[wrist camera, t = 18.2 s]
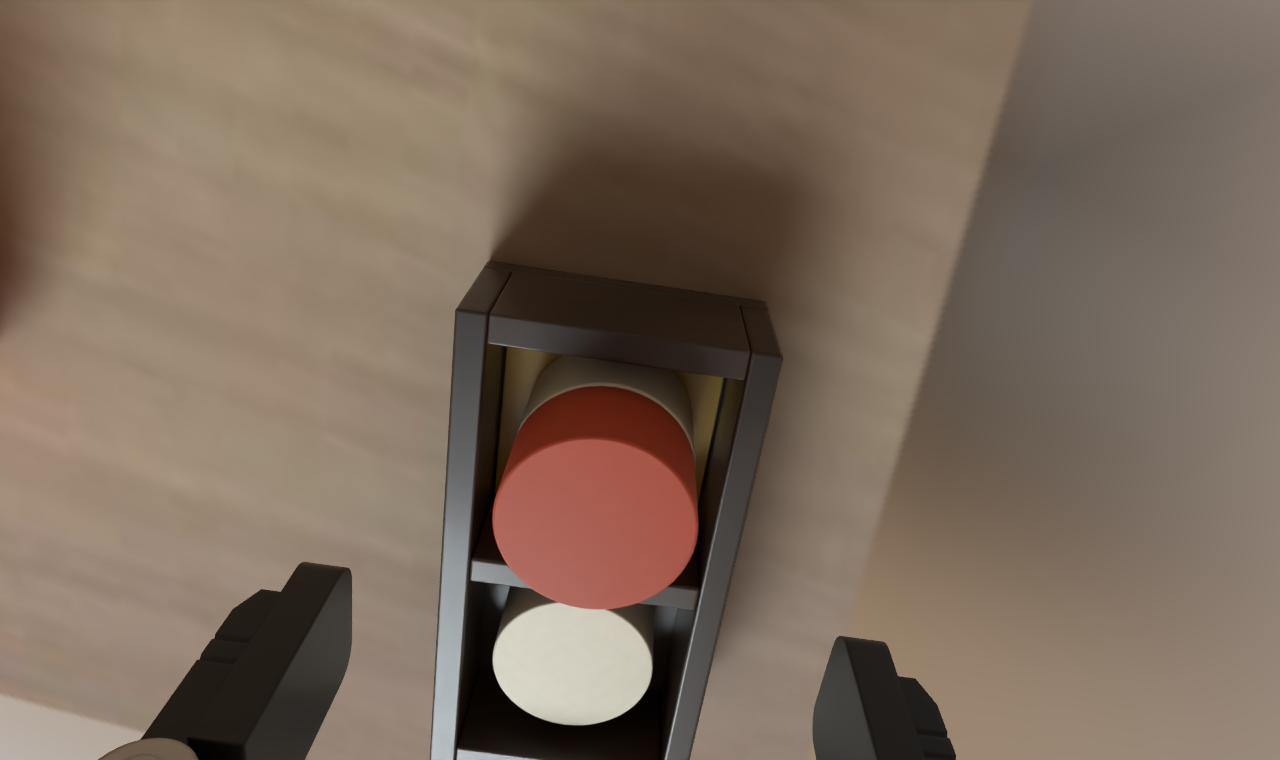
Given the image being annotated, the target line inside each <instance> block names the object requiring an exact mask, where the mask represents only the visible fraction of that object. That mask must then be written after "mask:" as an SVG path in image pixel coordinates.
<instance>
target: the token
mask: <svg viewBox="0 0 1280 760" xmlns="http://www.w3.org/2000/svg"><path fill="white" fill-rule="evenodd" d="M653 645H654V605H648V604H640V603H636V604H633V605H630V606H625V607H621V608H614V609H584V608H578V607H573V606H568V605H565V604H562V603H559V602H556V601H554V600H551V599H549V598H547V597H545V596H543V595H541V594H539V593H538V592H536V591H534V590H533V589H528V588H520V587H513V586H510V588H509V591H508V595H507V599H506V603H505V607H504V610H503V614H502V618H501V622H500V626H499V630H498V633H497V637H496V641H495V645H494V650H493V669H494V673H495V676H496V679H497V681H498V683H499V685H500V687H501V688H502V690H503V691H504V693H505V694H506V695H507V696H508V697H509V698H510V699H511V700H512V701H513V702H514V703H515V704H516V705H517V706H519V707H520V708H521V709H523V710H524V711H526V712H528V713H530V714H532V715H533V716H536V717H538V718H541V719H543V720H546V721H550V722H553V723H558V724H564V725H589V724H596V723H601V722H604V721H607V720H610V719H613V718H615V717H617V716H620V715H621V714H623V713H625V712H626V711H628V710H629V709H630V708H632V707H633V706H634V705H635V704H636V703H637V702H638V701H639V700H640V699H641V698H642V696H643V695H644V693H645V692H646V690H647V688H648V686H649V684H650V681H651V678H652V673H653Z"/></svg>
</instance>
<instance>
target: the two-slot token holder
mask: <svg viewBox="0 0 1280 760" xmlns="http://www.w3.org/2000/svg"><path fill="white" fill-rule="evenodd" d="M563 355H570V356H577V357H584V358H591V359H598V360H605V361H612V362H619V363H626V364H633V365H640V366H647V367H654V368H661V369H668V370H672V371H673V372H674V373H675V374H676V376H677V377H678V378H679V380H680V381H681V383H682V384H683V386H684V388H685V390H686V392H687V394H688V397H689V400H690V403H691V409H692V417H693V432H694V447H695V475H696V491H697V506H698V537H697V542H696V546H695V549H694V552H693V554H692V556H691V558H690V560H689V562H688V564H687V565H686V567H685V568H684V570H683V571H682V573H681V574H680V575H679V576H678V577H677V578H676V579H675V580H674V581H673V582H672V583H671V584H670V585H669V586H668V587H666V588H665V589H664V590H662V591H661V592H659V593H658V594H656V595H655V596H653V597H651V598H649V599H646V600H644V601H642V602H639V603H640V604H648V605H654V645H653V673H652V678H651V681H650V684H649V686H648V688H647V690H646V692H645V693H644V695H643V696H642V698H641V699H640V700H639V701H638V702H637V703H636V704H635V705H634V706H633V707H632V708H630V709H629V710H628V711H626V712H625V713H623V714H621V715H620V716H617V717H615V718H613V719H610V720H607V721H604V722H601V723H596V724H589V725H564V724H558V723H553V722H550V721H546V720H543V719H541V718H538V717H536V716H533V715H532V714H530V713H528V712H526V711H524V710H523V709H521V708H520V707H519V706H517V705H516V704H515V703H514V702H513V701H512V700H511V699H510V698H509V697H508V696H507V695H506V694H505V693H504V691H503V690H502V688H501V687H500V685H499V683H498V681H497V679H496V676H495V673H494V669H493V650H494V645H495V641H496V637H497V633H498V630H499V626H500V622H501V618H502V614H503V610H504V607H505V603H506V599H507V595H508V591H509V588H510V586H513V587H520V588H528V589H532V588H530V587H529V586H527V585H526V584H525V583H524V582H523V581H522V580H520V579H519V578H518V577H517V576H516V575H515V573H514V572H513V571H512V570H511V569H510V567H509V566H508V565H507V563H506V562H505V560H504V558H503V557H502V555H501V552H500V550H499V548H498V546H497V543H496V539H495V536H494V531H493V524H492V515H493V506H494V500H495V497H496V494H497V491H498V488H499V485H500V483H501V480H502V477H503V474H504V471H505V468H506V465H507V462H508V459H509V456H510V453H511V450H512V447H513V444H514V441H515V438H516V436H517V433H518V430H519V427H520V424H521V421H522V418H523V415H524V412H525V409H526V406H527V403H528V400H529V397H530V394H531V392H532V389H533V387H534V385H535V383H536V381H537V380H538V378H539V377H540V375H541V374H542V373H543V372H544V370H545V369H546V368H547V367H548V366H549V365H550V364H552V363H553V362H554V361H555V360H557V359H558V358H560V357H561V356H563ZM782 361H783V355H782V352H781V349H780V346H779V343H778V340H777V337H776V334H775V331H774V328H773V325H772V322H771V319H770V316H769V313H768V309H767V305H766V303H765V302H762V301H755V300H748V299H741V298H735V297H728V296H721V295H714V294H707V293H701V292H694V291H687V290H680V289H673V288H666V287H660V286H653V285H646V284H639V283H632V282H626V281H619V280H612V279H605V278H598V277H591V276H585V275H578V274H571V273H564V272H557V271H550V270H544V269H537V268H530V267H523V266H516V265H510V264H503V263H496V262H487V263H486V265H485V266H484V268H483V270H482V271H481V273H480V274H479V276H478V277H477V279H476V280H475V282H474V283H473V285H472V286H471V288H470V289H469V291H468V292H467V294H466V295H465V297H464V298H463V300H462V301H461V303H460V304H459V306H458V307H457V309H456V310H455V326H454V343H453V361H452V378H451V396H450V413H449V431H448V448H447V466H446V483H445V501H444V518H443V536H442V553H441V571H440V589H439V606H438V624H437V641H436V659H435V676H434V694H433V711H432V729H431V746H430V760H690V756H691V751H692V747H693V743H694V738H695V734H696V730H697V726H698V721H699V717H700V713H701V708H702V704H703V700H704V696H705V691H706V687H707V683H708V678H709V674H710V670H711V666H712V661H713V657H714V653H715V648H716V644H717V640H718V636H719V631H720V627H721V623H722V618H723V614H724V610H725V606H726V601H727V597H728V593H729V588H730V584H731V580H732V576H733V571H734V567H735V563H736V558H737V554H738V550H739V545H740V541H741V537H742V533H743V528H744V524H745V520H746V515H747V511H748V507H749V503H750V498H751V494H752V490H753V485H754V481H755V477H756V473H757V468H758V464H759V460H760V455H761V451H762V447H763V443H764V438H765V434H766V430H767V425H768V421H769V417H770V413H771V408H772V404H773V400H774V395H775V391H776V387H777V383H778V378H779V374H780V370H781V365H782Z"/></svg>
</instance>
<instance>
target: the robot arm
mask: <svg viewBox="0 0 1280 760" xmlns="http://www.w3.org/2000/svg"><path fill="white" fill-rule="evenodd" d="M351 645H352V575H351V571H350V569H349V568H345V567H338V566H331V565H323V564H316V563H308V562H302V563H300V564H299V565H298V567H297V568H296V569H295V571H294V572H293V574H292V576H291V577H290V579H289V580H288V582H287V583H286V585H285V586H284V588H283V589H282V591H281V592H278V591H270V590H263V589H261V590H260V591H258V592H257V593H255V594H254V595H253V596H251V597H250V598H248V599H247V600H245V601H244V602H243V603H241V604H240V605H238V606H237V607H235V608H234V609H233V610H232V611H231V613H230V614H229V616H228V617H227V618H226V620H225V621H224V623H223V624H222V625H221V627H220V628H219V630H218V631H217V632H216V634H215V638H214V639H212V640H211V641H210V642H209V644H208V645H207V647H206V648H205V649H204V651H203V652H202V654H201V657H200V660H197V661H196V662H195V664H194V665H193V666H192V668H191V669H190V671H189V672H188V673H187V675H186V676H185V678H184V679H183V681H182V682H181V683H180V685H179V686H178V688H177V689H176V690H175V692H174V693H173V695H172V696H171V697H170V699H169V700H168V702H167V703H166V705H165V706H164V707H163V709H162V710H161V712H160V713H159V714H158V716H157V717H156V719H155V720H154V721H153V723H152V724H151V726H150V727H149V729H148V730H147V731H146V733H145V734H144V735H143V737H142V738H141V739H140V740H138V741H134V742H131V743H128V744H125V745H123V746H120V747H118V748H116V749H114V750H112V751H110V752H109V753H107V754H106V755H104V756H103V757H101V758H100V759H98V760H305V758H306V756H307V754H308V752H309V750H310V748H311V746H312V743H313V741H314V739H315V737H316V735H317V733H318V731H319V729H320V727H321V725H322V722H323V720H324V718H325V716H326V714H327V712H328V710H329V708H330V706H331V704H332V701H333V699H334V697H335V695H336V693H337V691H338V689H339V687H340V685H341V683H342V680H343V678H344V675H345V672H346V669H347V666H348V662H349V658H350V652H351ZM813 743H814V749H815V754H816V760H956V755H955V752H954V749H953V746H952V744H951V741H950V739H949V738H947V730H946V728H945V725H944V722H943V719H942V717H941V714H940V711H939V709H938V706H937V704H936V703H935V702H934V701H933V699H932V698H931V697H930V696H929V695H928V693H927V692H926V691H925V690H924V688H923V687H922V686H921V685H920V684H919V683H918V681H917V680H916V679H914V678H907V677H906V678H905V677H899V676H898V675H897V672H896V669H895V666H894V663H893V660H892V657H891V654H890V651H889V648H888V646H887V645H886V643H885V642H881V641H874V640H866V639H859V638H852V637H844V636H839V637H837V639H836V640H835V642H834V645H833V648H832V651H831V655H830V658H829V661H828V664H827V668H826V671H825V674H824V677H823V680H822V684H821V687H820V690H819V693H818V697H817V700H816V704H815V708H814V714H813Z"/></svg>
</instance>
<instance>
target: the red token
mask: <svg viewBox="0 0 1280 760" xmlns="http://www.w3.org/2000/svg"><path fill="white" fill-rule="evenodd" d="M492 524H493V531H494V536H495V539H496V543H497V546H498V548H499V550H500V552H501V555H502V557H503V558H504V560H505V562H506V563H507V565H508V566H509V567H510V569H511V570H512V571H513V572H514V573H515V575H516V576H517V577H518V578H519V579H520V580H522V581H523V582H524V583H525V584H526V585H527V586H529V587H530V588H532V589H533V590H534V591H536V592H538V593H539V594H541V595H543V596H545V597H547V598H549V599H551V600H554V601H556V602H559V603H562V604H565V605H568V606H573V607H578V608H584V609H614V608H621V607H625V606H630V605H633V604H636V603H639V602H642V601H644V600H646V599H649V598H651V597H653V596H655V595H656V594H658V593H659V592H661V591H662V590H664V589H665V588H666V587H668V586H669V585H670V584H671V583H672V582H673V581H674V580H675V579H676V578H677V577H678V576H679V575H680V574H681V573H682V571H683V570H684V568H685V567H686V565H687V564H688V562H689V560H690V558H691V556H692V554H693V552H694V549H695V546H696V542H697V537H698V506H697V491H696V475H695V461H694V456H693V451H692V448H691V445H690V442H689V440H688V438H687V436H686V434H685V432H684V430H683V429H682V427H681V426H680V424H679V423H678V422H677V421H676V419H675V418H674V417H673V416H672V415H671V414H670V413H669V412H668V411H666V410H665V409H664V408H663V407H662V406H660V405H659V404H657V403H656V402H654V401H653V400H651V399H649V398H647V397H645V396H643V395H641V394H639V393H636V392H633V391H630V390H626V389H622V388H617V387H608V386H590V387H584V388H578V389H574V390H570V391H567V392H564V393H562V394H559V395H557V396H555V397H553V398H551V399H550V400H548V401H546V402H545V403H543V404H542V405H541V406H539V407H538V408H537V409H536V410H535V411H534V412H533V413H532V414H531V415H530V416H529V417H528V418H527V419H526V421H525V422H524V423H523V425H522V426H521V428H520V430H519V432H518V434H517V436H516V438H515V441H514V444H513V447H512V450H511V453H510V456H509V459H508V462H507V465H506V468H505V471H504V474H503V477H502V480H501V483H500V485H499V488H498V491H497V494H496V497H495V500H494V506H493V515H492Z"/></svg>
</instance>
